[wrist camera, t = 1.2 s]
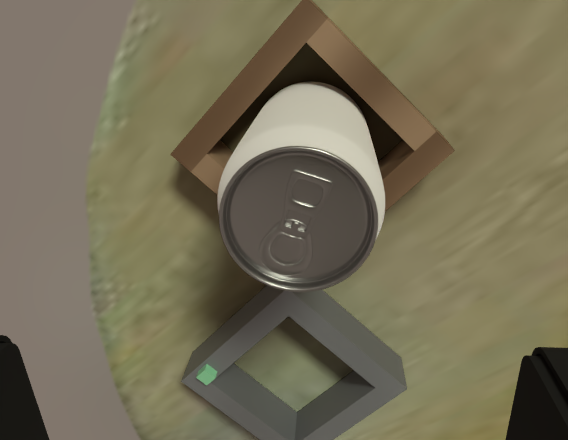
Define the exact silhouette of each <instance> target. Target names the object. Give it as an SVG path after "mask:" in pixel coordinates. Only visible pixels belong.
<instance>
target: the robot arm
mask: <svg viewBox="0 0 568 440" xmlns="http://www.w3.org/2000/svg"><path fill="white" fill-rule="evenodd" d="M0 440H49V437H48V434H47V431H46V429H45V425H44V423H43V419H42V416H41V413H40V410H39V407H38V405H37V402H36V399H35V396H34V393H33V390H32V387H31V384H30V381H29V378H28V375H27V372H26V369H25V366H24V363H23V360H22V357H21V354H20V351H19V349H18V347H17V346H16V345H15V344H13V343H12V342H11V340H10V339H9V338H8V337H7V336H3V335H0ZM506 440H568V348H548V347H538V348H535V349H534V351H533V353H532V356H524V357H523V359H522V362H521V367H520V372H519V377H518V382H517V386H516V391H515V396H514V401H513V406H512V411H511V416H510V421H509V426H508V430H507V435H506Z"/></svg>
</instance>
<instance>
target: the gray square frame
mask: <svg viewBox="0 0 568 440" xmlns="http://www.w3.org/2000/svg"><path fill="white" fill-rule="evenodd" d="M288 316H289V317H290V318H291V319H293V320H294V321H295V322H296V323H297V324H299V325H300V326H301V327H302V328H304V329H305V330H306V331H307V332H308V333H310V334H311V335H312V336H313V337H314V338H316V339H317V340H318V341H319V342H320V343H322V344H323V345H324V346H325V347H326V348H328V349H329V350H330V351H331V352H333V353H334V354H335V355H336V356H337V357H339V358H340V359H341V360H342V361H343V362H345V363H346V364H347V365H348V366H349V367H351V368H352V369H353V370H354V371H352V372H351V373H350V374H348V375H347V376H345V377H344V378H343V379H341V380H340V381H339V382H337V383H336V384H335V385H333V386H332V387H331V388H329V389H328V390H327V391H325V392H324V393H322V394H321V395H320V396H318V397H317V398H316V399H314V400H313V401H312V402H310V403H309V404H308V405H306V406H305V407H304V408H302V409H301V410H299V411H298V412H296V411H295V410H293V409H292V408H291V407H289V406H288V405H287V404H286V403H284V402H283V401H282V400H280V399H279V398H278V397H277V396H275V395H274V394H273V393H271V392H270V391H269V390H267V389H266V388H265V387H264V386H262V385H261V384H260V383H258V382H257V381H256V380H254V379H253V378H252V377H251V376H249V375H248V374H247V373H245V372H244V371H243V370H242V369H240V368H239V367H238V366H236V365H235V364H234V362H235V361H236V360H237V359H239V358H240V357H241V356H242V355H243V354H245V353H246V352H247V351H248V350H249V349H250V348H252V347H253V346H254V345H255V344H256V343H257V342H259V341H260V340H261V339H262V338H263V337H265V336H266V335H267V334H268V333H269V332H270V331H272V330H273V329H274V328H275V327H276V326H277V325H279V324H280V323H281V322H282V321H283V320H285V319H286V318H287V317H288ZM181 382H182V383H184V384H185V385H186V386H188V387H189V388H191V389H192V390H193V391H195V392H196V393H197V394H199V395H200V396H201V397H203V398H204V399H205V400H207V401H208V402H210V403H211V404H212V405H214V406H215V407H216V408H218V409H219V410H220V411H222V412H223V413H224V414H226V415H227V416H228V417H230V418H231V419H233V420H234V421H235V422H237V423H238V424H239V425H241V426H242V427H243V428H245V429H246V430H247V431H249V432H250V433H251V434H253V435H254V436H256V437H257V438H258V439H260V440H333V439H335V438H336V437H338V436H339V435H341V434H342V433H344V432H345V431H346V430H348V429H349V428H351V427H352V426H354V425H355V424H357V423H358V422H360V421H361V420H363V419H364V418H366V417H367V416H368V415H370V414H371V413H373V412H374V411H376V410H377V409H379V408H380V407H382V406H383V405H385V404H386V403H387V402H389V401H390V400H392V399H393V398H395V397H396V396H398V395H399V394H401V393H402V392H404V391H405V390H406V389H407V386H406V381H405V375H404V370H403V365H402V360H401V357H400V356H399V355H397V354H396V353H395V352H394V351H393V350H392V349H390V348H389V347H388V346H387V345H386V344H385V343H383V342H382V341H381V340H380V339H379V338H378V337H376V336H375V335H374V334H373V333H372V332H371V331H369V330H368V329H367V328H366V327H365V326H364V325H363V324H361V323H360V322H359V321H358V320H357V319H356V318H354V317H353V316H352V315H351V314H350V313H349V312H347V311H346V310H345V309H344V308H343V307H342V306H340V305H339V304H338V303H337V302H336V301H335V300H333V299H332V298H331V297H330V296H329V295H328V294H326V293H325V292H324V291H323V290H317V291H310V292H291V291H285V290H280V289H276V288H273V287H270V286H268V285H267V286H265V287H264V288H263V289H262V290H261V291H260V292H259V293H258V294H257V295H255V296H254V297H253V298H252V299H251V300H250V301H249V302H248V303H247V304H245V305H244V306H243V307H242V308H241V309H240V310H239V311H238V312H237V313H236V314H234V315H233V316H232V317H231V318H230V319H229V320H228V321H227V322H226V323H224V324H223V325H222V326H221V327H220V328H219V329H218V330H217V331H216V332H214V333H213V334H212V335H211V336H210V337H209V338H208V339H207V340H206V341H205V342H203V343H202V344H201V345H200V346H199V347H198V348H197V349H196V350H195V351H193V353H192V355H191V358H190V360H189V363H188V365H187V368H186V370H185V373H184V376H183V378H182V381H181Z"/></svg>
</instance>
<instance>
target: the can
mask: <svg viewBox="0 0 568 440" xmlns="http://www.w3.org/2000/svg"><path fill="white" fill-rule="evenodd" d="M217 204H218V213H219V225H220V231H221V235H222V239H223V241H224V244H225V246H226V248H227V250H228V252H229V254H230V255H231V257H232V258H233V259H234V261H235V262H236V263H237V264H238V265H239V266H240V267H241V268H242V269H243V270H244V271H245V272H246V273H247V274H249V275H250V276H251V277H253V278H254V279H256V280H258V281H259V282H261V283H263V284H265V285H268V286H270V287H273V288H276V289H280V290H285V291H291V292H310V291H317V290H322V289H325V288H328V287H331V286H334V285H336V284H338V283H340V282H342V281H343V280H345V279H347V278H348V277H349V276H351V275H352V274H353V273H354V272H356V271H357V270H358V269H359V268H360V267H361V265H362V264H363V263H364V262H365V260H366V259H367V257H368V256H369V254H370V252H371V250H372V248H373V246H374V243H375V240H376V238H377V236H378V234H379V232H380V229H381V227H382V223H383V219H384V213H385V191H384V186H383V180H382V176H381V172H380V169H379V165H378V161H377V157H376V154H375V150H374V147H373V143H372V140H371V136H370V133H369V130H368V126H367V123H366V120H365V118H364V115H363V113H362V111H361V110H360V108H359V106H358V105H357V104H356V102H355V101H354V100H353V99H352V98H351V97H350V96H349V95H348V94H346V93H345V92H344V91H342V90H340V89H339V88H337V87H335V86H332V85H330V84H326V83H322V82H313V81H309V82H300V83H296V84H293V85H290V86H288V87H286V88H284V89H282V90H280V91H279V92H277V93H276V94H275V95H273V96H272V97H271V98H270V99H269V100H268V101H267V103H266V104H265V105H264V106H263V108H262V109H261V111H260V112H259V114H258V115H257V117H256V118H255V120H254V121H253V123H252V124H251V126H250V127H249V129H248V130H247V132H246V133H245V135H244V136H243V138H242V139H241V141H240V142H239V144H238V146H237V147H236V149H235V150H234V152H233V154H232V155H231V157H230V159H229V161H228V162H227V164H226V166H225V168H224V171H223V173H222V176H221V180H220V183H219V188H218V197H217Z"/></svg>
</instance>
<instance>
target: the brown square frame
mask: <svg viewBox="0 0 568 440" xmlns="http://www.w3.org/2000/svg"><path fill="white" fill-rule="evenodd" d="M305 43H307V44H308V45H309V46H310V47H311V48H312V49H313V50H314V51H315V52H316V53H317V54H318V55H319V56H320V57H321V58H322V59H323V60H324V61H325V62H326V63H327V64H328V65H329V66H330V67H331V68H332V69H333V70H334V71H335V72H336V73H337V74H338V75H339V76H340V77H341V78H342V79H343V80H344V81H345V82H346V83H347V84H348V85H349V86H350V87H351V88H352V89H353V90H354V91H355V92H356V93H357V94H358V95H359V96H360V97H361V98H362V99H363V100H364V101H365V102H366V103H367V104H368V105H369V106H370V107H371V108H372V109H373V110H374V111H375V112H376V113H377V114H378V115H379V116H380V117H381V118H382V119H383V120H384V121H385V122H386V123H387V124H388V125H389V126H390V127H391V128H392V129H393V130H394V131H395V132H396V133H397V134H398V135H399V136H400V137H401V138H402V139H403V140H402V141H401V142H400V143H399V144H398V145H396V146H395V147H394V148H393V149H392V150H391V151H390V152H389V153H388V154H387V155H386V156H385V157H383V158H382V159H381V160H380V161H379V162H378V165H379V169H380V172H381V176H382V180H383V186H384V191H385V211H386V210H387V209H388V208H390V207H391V206H392V205H393V204H394V203H395V202H396V201H398V200H399V199H400V198H401V197H402V196H403V195H404V194H406V193H407V192H408V191H409V190H410V189H411V188H412V187H414V186H415V185H416V184H417V183H418V182H419V181H421V180H422V179H423V178H424V177H425V176H426V175H427V174H429V173H430V172H431V171H432V170H433V169H434V168H435V167H437V166H438V165H439V164H440V163H441V162H442V161H443V160H445V159H446V158H447V157H448V156H449V155H450V154H452V153H453V152H454V151H455V150H454V149H453V148H452V146H451V145H450V144H449V143H448V141H447V140H446V139H445V138H444V137H443V135H442V134H441V133H440V132H439V131H438V130H437V129H436V128H435V127H434V126H433V125H432V124H431V123H430V122H429V121H428V120H427V119H426V118H425V117H424V116H423V115H422V114H421V113H420V112H419V111H418V110H417V109H416V107H415V106H414V105H413V104H412V103H411V102H410V101H409V100H408V99H407V98H406V97H405V96H404V95H403V94H402V93H401V92H400V91H399V90H398V89H397V88H396V87H395V86H394V85H393V84H392V83H391V82H390V81H389V80H388V79H387V78H386V77H385V75H384V74H383V73H382V72H381V71H380V70H379V69H378V68H377V67H376V66H375V65H374V64H373V63H372V62H371V61H370V60H369V59H368V58H367V57H366V56H365V55H364V54H363V53H362V52H361V51H360V50H359V49H358V48H357V47H356V46H355V45H354V43H353V42H352V41H351V40H350V39H349V38H348V37H347V36H346V35H345V34H344V33H343V32H342V31H341V30H340V29H339V28H338V27H337V26H336V25H335V24H334V23H333V22H332V21H331V20H330V19H329V18H328V17H327V16H326V15H325V14H324V13H323V11H322V10H321V9H320V8H319V7H318V6H317V5H316V4H315V3H314V2H313V1H312V0H302V1H301V2H300V3H299V4H298V6H297V7H296V8H295V9H294V10H293V11H292V13H291V14H290V15H289V16H288V17H287V18H286V20H285V21H284V22H283V23H282V24H281V26H280V27H279V28H278V29H277V30H276V31H275V33H274V34H273V35H272V36H271V37H270V38H269V40H268V41H267V42H266V43H265V44H264V45H263V47H262V48H261V49H260V50H259V51H258V52H257V54H256V55H255V56H254V57H253V58H252V59H251V61H250V62H249V63H248V64H247V65H246V66H245V68H244V69H243V70H242V71H241V72H240V73H239V75H238V76H237V77H236V78H235V79H234V81H233V82H232V83H231V84H230V85H229V86H228V88H227V89H226V90H225V91H224V92H223V93H222V95H221V96H220V97H219V98H218V99H217V100H216V102H215V103H214V104H213V105H212V106H211V107H210V109H209V110H208V111H207V112H206V113H205V114H204V116H203V117H202V118H201V119H200V120H199V121H198V123H197V124H196V125H195V126H194V127H193V129H192V130H191V131H190V132H189V133H188V134H187V136H186V137H185V138H184V139H183V140H182V141H181V143H180V144H179V145H178V146H177V147H176V148H175V150H174V151H173V152H172V153H171V154H170V155H172V156H173V157H174V158H175V159H176V160H177V161H179V162H180V163H181V164H182V165H183V166H184V167H186V168H187V169H188V170H189V171H190V172H191V173H193V174H194V175H195V176H196V177H197V178H198V179H199V180H201V181H202V182H203V183H204V184H205V185H206V186H208V187H209V188H210V189H211V190H212V191H213V192H215V193H216V194H217V195H218V188H219V183H220V180H221V176H222V173H223V171H224V168H225V166H226V164H227V162H228V161H229V159H230V157H231V155H232V154H233V152H232V151H231V150H230V149H229V148H228V147H227V146H226V145H225V144H223V143H222V142H221V141H220V139H221V137H222V136H223V135H224V134H225V133H226V132H227V131H228V130H229V128H230V127H231V126H232V125H233V124H234V123H235V122H236V121H237V120H238V118H239V117H240V116H241V115H242V114H243V113H244V112H245V111H246V109H247V108H248V107H249V106H250V105H251V104H252V103H253V102H254V100H255V99H256V98H257V97H258V96H259V95H260V94H261V93H262V91H263V90H264V89H265V88H266V87H267V86H268V85H269V84H270V83H271V81H272V80H273V79H274V78H275V77H276V76H277V75H278V74H279V72H280V71H281V70H282V69H283V68H284V67H285V66H286V65H287V63H288V62H289V61H290V60H291V59H292V58H293V57H294V56H295V55H296V53H297V52H298V51H299V50H300V49H301V48H302V47H303V46H304V44H305Z"/></svg>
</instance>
